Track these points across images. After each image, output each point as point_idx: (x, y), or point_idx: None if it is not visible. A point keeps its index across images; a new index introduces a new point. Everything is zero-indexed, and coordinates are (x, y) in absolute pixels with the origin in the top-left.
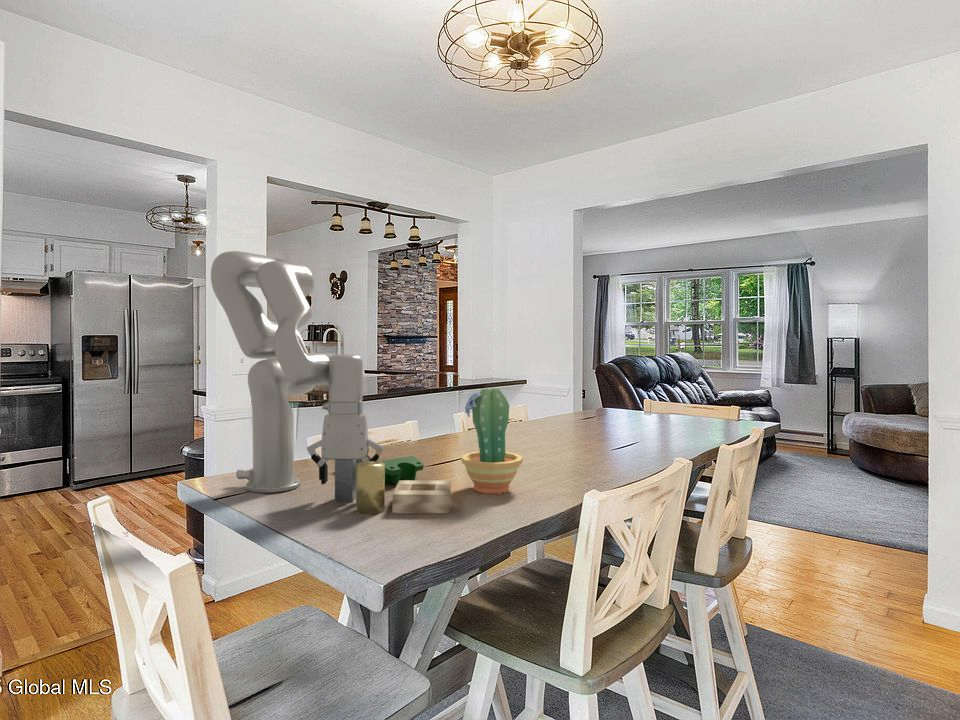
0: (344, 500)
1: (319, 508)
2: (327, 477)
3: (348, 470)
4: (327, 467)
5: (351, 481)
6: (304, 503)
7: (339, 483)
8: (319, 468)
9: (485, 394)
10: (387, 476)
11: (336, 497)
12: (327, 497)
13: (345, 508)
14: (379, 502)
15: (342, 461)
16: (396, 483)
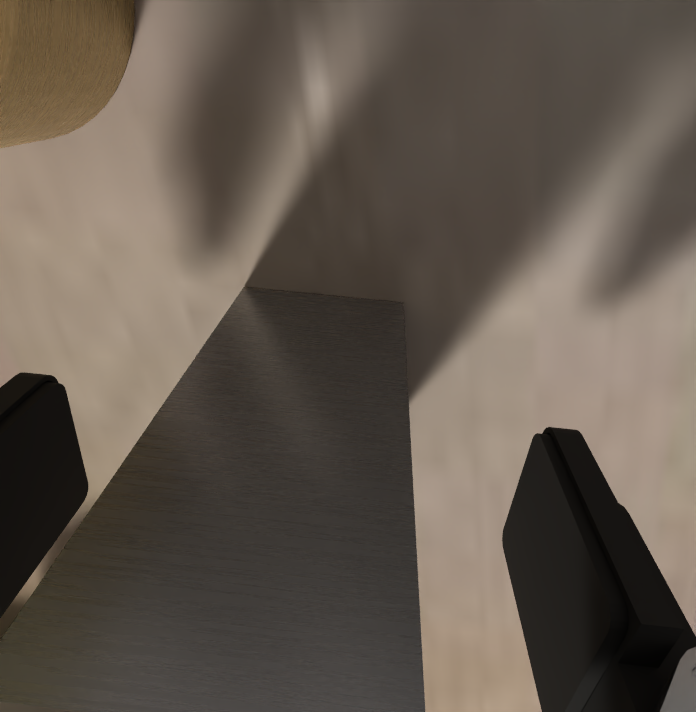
0: (314, 298)
1: (545, 96)
2: (510, 567)
3: (172, 506)
4: (541, 693)
5: (188, 390)
6: (685, 289)
7: (349, 394)
8: (689, 637)
9: None
10: None
11: (388, 320)
12: (475, 435)
13: (269, 75)
14: None
15: (236, 693)
16: None
